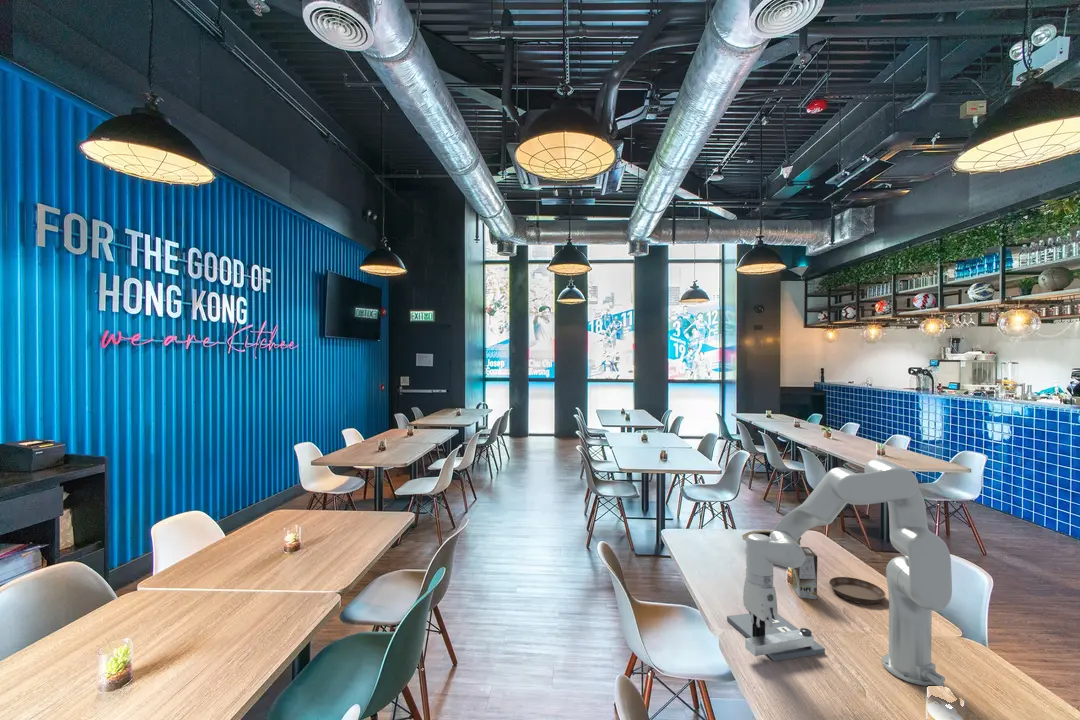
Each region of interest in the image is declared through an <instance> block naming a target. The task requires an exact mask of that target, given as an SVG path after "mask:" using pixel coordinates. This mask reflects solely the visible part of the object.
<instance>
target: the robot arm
mask: <svg viewBox="0 0 1080 720" xmlns="http://www.w3.org/2000/svg"><path fill="white" fill-rule="evenodd" d="M881 503H887V507H888V517H889V518H888V520H889V521H888V522H889V525H888V526H889V541H890V543H891V545H892V547H893V548H894V549H895V550H896V551H898V552H899V553H900V554H901V555H900V556H896V557H893V558H892V559H890V561H889V562H888V564H887V565H886V569H885V578H886V584H887V590H888V653H885V654H884V655H883V656H882V658H881V664H882V666H883V667H884V668H885V669H886V671H888V672H889V673H890V674H891V675H893V676H895V677H896V678H899V679H901V680H904V681H905V682H908V683H910V684H914V685H919V686H924V687H925V686H926V687H929V686H928V685H932V686H936V687H939V686H942V687H943V686H944V682H945V680H946V678H945V676H943V674H940V673H938V672H937V671H936V664H934V663H933V662H932V641H933V640H932V637H933V636H932V633H933V629H932V628H933V627H932V624H933V613H932V612H939V611H941V610H944V609H945V608H946V607H948V605H949V604H950V602H951V600H952V594H953V580H952V579H953V578H952V577H953V575H952V574H953V573H952V558H951V553H950V550H949V547H948V545H947V544H946V542H945V541H944V540H943V539H942V538H941V536H938V534H936V533H934V532H933V531H930V529H929V526H928V517H927V516H928V514H927V509H926V508H927V507H926V502H925V498H924V496H923V494H922V492H921V489H920V488H919V481H918V478H917V476H916V475H915V474H914V473H913V471H911V470H910V469H907V468H906V467H903V466H901V465H898V464H896V463H894V462H891V461H888V460H886V459H880V458H875V459H871V460H869V461H868V462H867V463H866V464H865V466H864V472H861V473H858V472H857V473H856V472H854V471H853V470H850V469H848V468H845V467H834V468H831V469H830V470H829V471H828V472H827V473H826V474H825V475H824V476H823V477H822V479H821V480H820V482H819V483H818V484H817V485H816V486H815V487H814V489H813V490H812V492H811V493H810V494H809V495H808V497H807V498H806V499H805V500H804V501H803V502H802V504H800V505H799V506H797V507H795V508H793V510H790V511H789V512H788V513H786V514H785V515H784V516H783V517H782V518H781V519H780V520H779V522H777V524H776V525H775V527H774V528H773V529H772V530H771V531H772V532H771V534H770V536H769V537H768V536H766V535H762V534H750V535H748V536H747V539H746V541H745V543H746V544H745V577H744V578H745V579H744V585H743V592H742V593H743V597H742V598H743V601H742V602H743V606H744V607H745V609H746V611H747V612H748V613H750V616H751V622H752V623H753V624H752V636H753V637H758V636H764V635H765V627H766V626H767V627H773V621H772V619H773V620H777V617H778V615H779V614H778V599H777V593H776V587H775V586H774V565H778V566H780V567H781V566H782V567H785V568H790V569H792V568H797V567H799V566H801V565H802V564H803V563H804V561H805V554H804V551H803V550H802V548H801V547H802V546H801V545H798V543H797V541H798V540H799V538H800V537H801V538H802V536H803V535H804V534H805V533H806V532H807V531H809V530H810V529H812V528H815V527H822V526H827V525H831V524H832V523H833V522H834V520H836V518H837V517H838V515H839V514H840V513H841V511H842V510H843V509H844V508H845V506H846V505H847V504H850V505H855V506H863V505H865V506H866V505H875V504H881ZM761 620H762V621H761Z"/></svg>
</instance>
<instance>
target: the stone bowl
mask: <svg viewBox="0 0 1080 720" xmlns="http://www.w3.org/2000/svg"><path fill="white" fill-rule="evenodd" d="M772 531H773V530H771V529H769V530H768V529H766V530H764V529H763V530H762V529H761V530H760V529H759V530H751V531H748V532H746V533H743V534H742V535H741V536H742V540H743V541H745V542H746V539H747V536H748V535H750V534H762V535H766V536H768V537H769V536H770V534H771V532H772ZM801 540H802V536H801V537H800V538H799V540H798V541H797V543H798V545H799V546H801Z"/></svg>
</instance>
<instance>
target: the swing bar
mask: <svg viewBox="0 0 1080 720" xmlns="http://www.w3.org/2000/svg"><path fill="white" fill-rule="evenodd" d="M798 629H799V630H793V631H787V632H781V633H775V634H770V635H764V636H758V637H752V638H746V637H745V643H744V644H745V649H746V650H747V651H749V653H750V654H751V655H753V656H754V657H758V656H759V657H760V656H764V655H765V656H766V654H771V653H776V652H782V651H787V650H792V649H798V648H803V647H804V648H811V646H814V641H815V636H814V635H813V634H812V630H810V629H809V628H807V627H805V628H804V627H801V628H798Z"/></svg>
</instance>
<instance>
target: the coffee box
mask: <svg viewBox="0 0 1080 720" xmlns="http://www.w3.org/2000/svg"><path fill="white" fill-rule="evenodd" d="M800 547H801V548H802V550H803V551H804V554H805V561H804V563H803V564H802V565H801V566H799V567H797V568H791V588H792V590H793V591H794V592H795V594H796V595H797V596H798V598H801V599H809V600H817V599H818V558H819V556H818V555H817V554H816V553H815V552H814V551H813V550H812V549H811V548H810V547H808V546H800Z"/></svg>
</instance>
